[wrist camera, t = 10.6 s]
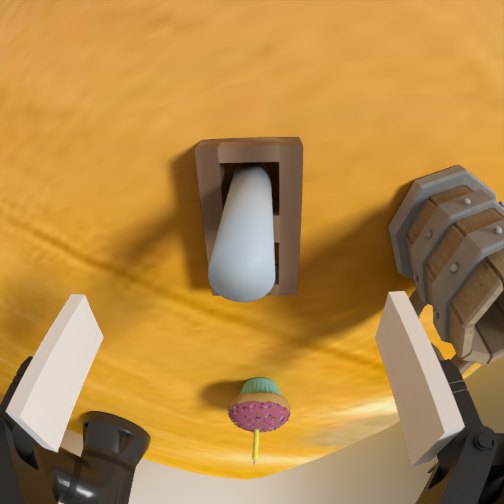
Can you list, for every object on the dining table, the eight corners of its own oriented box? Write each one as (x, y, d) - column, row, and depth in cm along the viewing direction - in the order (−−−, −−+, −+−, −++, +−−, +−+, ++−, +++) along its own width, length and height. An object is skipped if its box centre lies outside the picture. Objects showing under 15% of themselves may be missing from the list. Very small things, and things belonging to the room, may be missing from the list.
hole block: (216, 276, 33) (212, 295, 30) (201, 140, 25) (194, 148, 23) (294, 275, 32) (297, 295, 30) (298, 137, 25) (303, 145, 22)
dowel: (234, 194, 28) (211, 301, 16) (232, 160, 26) (203, 248, 14) (271, 194, 28) (275, 302, 16) (270, 159, 26) (275, 247, 14)
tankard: (431, 145, 24) (540, 225, 12) (505, 201, 26) (589, 283, 14) (333, 306, 35) (357, 426, 22) (413, 329, 37) (449, 428, 24)
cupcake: (281, 402, 46) (282, 471, 36) (226, 396, 45) (220, 466, 35) (295, 372, 41) (300, 450, 31) (233, 365, 41) (226, 445, 31)
